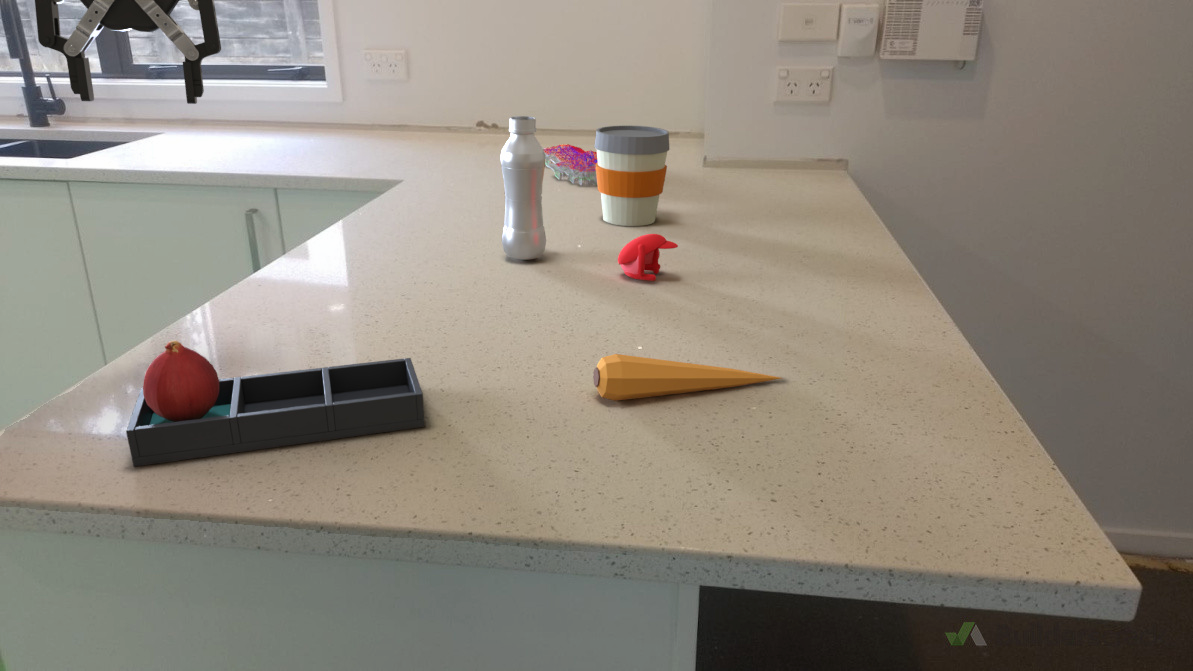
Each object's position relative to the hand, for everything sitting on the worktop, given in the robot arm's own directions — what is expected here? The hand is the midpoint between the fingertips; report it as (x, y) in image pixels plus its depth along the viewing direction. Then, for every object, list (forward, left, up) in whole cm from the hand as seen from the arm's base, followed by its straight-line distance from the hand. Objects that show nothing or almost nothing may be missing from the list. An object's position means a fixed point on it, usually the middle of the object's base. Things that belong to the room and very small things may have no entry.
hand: (141, 102), depth 77 cm
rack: (+10, -17, -26) cm, 33 cm away
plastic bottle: (+43, +26, -26) cm, 56 cm away
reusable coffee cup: (+66, +43, -26) cm, 83 cm away
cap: (+57, +13, -26) cm, 64 cm away
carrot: (+48, -21, -26) cm, 58 cm away
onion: (+2, -17, -25) cm, 30 cm away
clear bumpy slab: (+69, +83, -26) cm, 112 cm away
